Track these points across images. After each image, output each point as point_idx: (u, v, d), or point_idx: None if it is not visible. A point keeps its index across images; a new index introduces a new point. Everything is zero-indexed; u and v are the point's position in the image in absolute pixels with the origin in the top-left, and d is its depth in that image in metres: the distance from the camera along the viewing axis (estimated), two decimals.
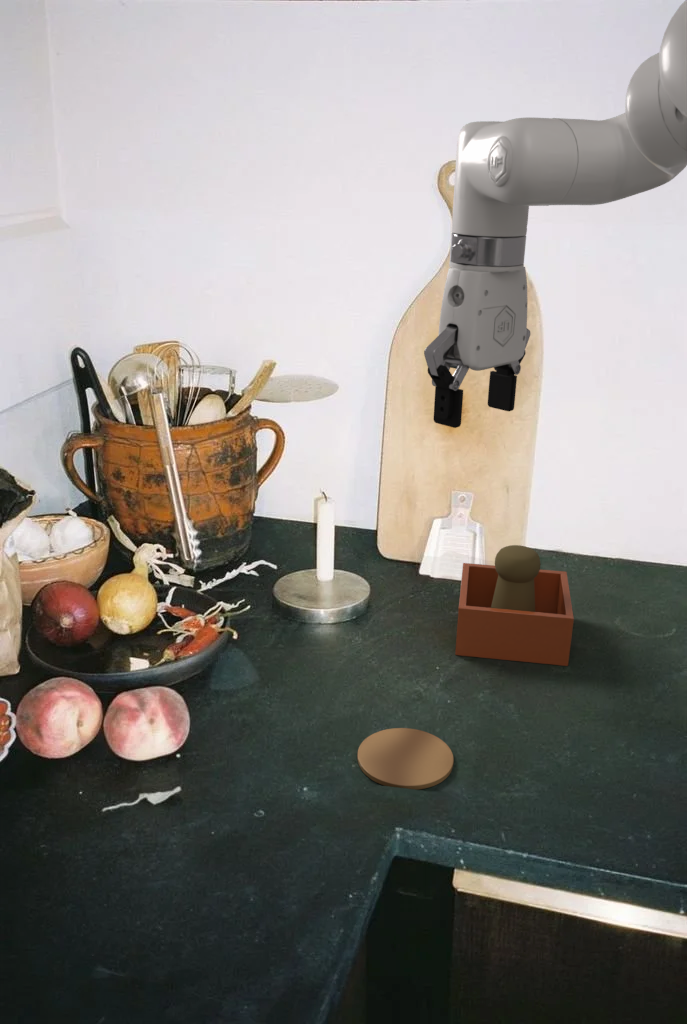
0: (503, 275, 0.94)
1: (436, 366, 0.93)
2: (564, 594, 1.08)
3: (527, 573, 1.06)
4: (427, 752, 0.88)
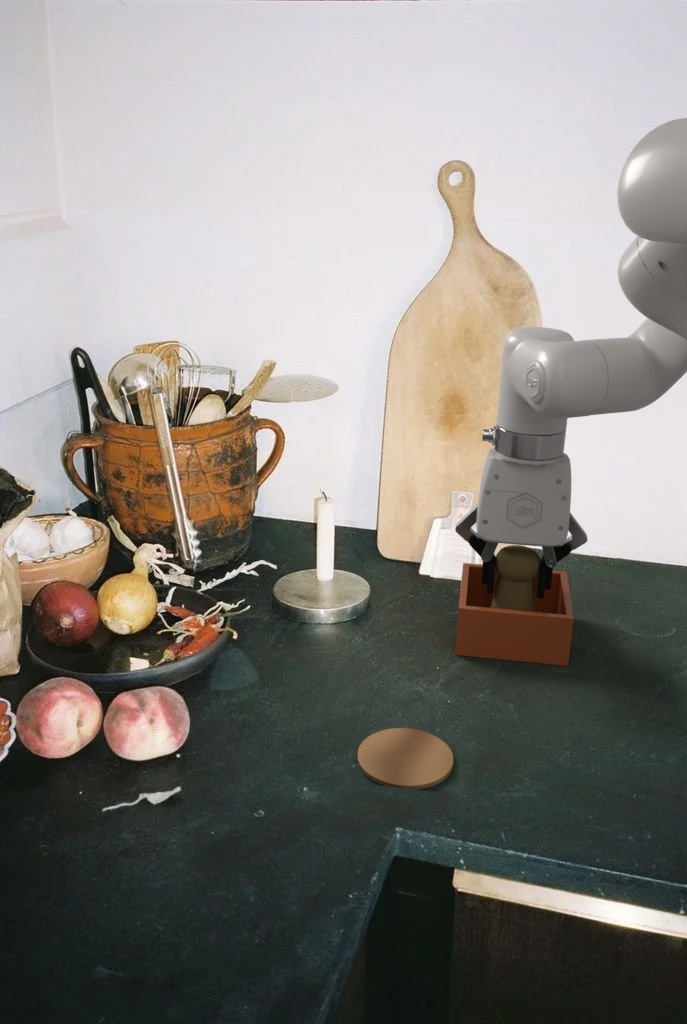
0: (522, 465, 1.01)
1: (464, 539, 1.08)
2: (564, 594, 1.08)
3: (527, 573, 1.06)
4: (427, 752, 0.88)
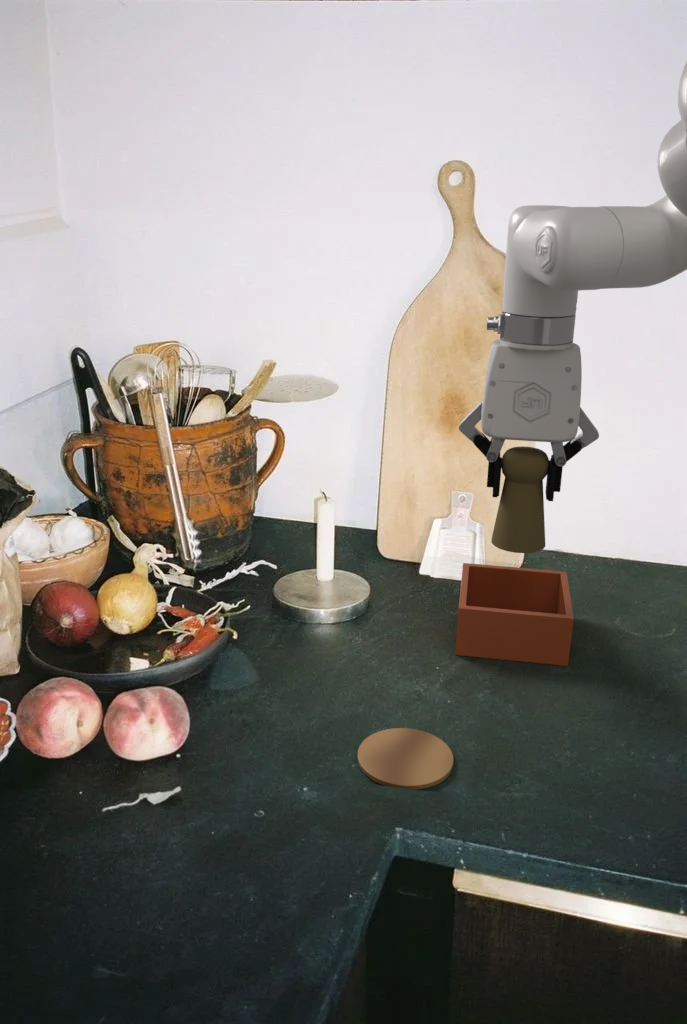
0: (529, 352, 0.95)
1: (469, 438, 1.02)
2: (564, 594, 1.08)
3: (535, 472, 1.00)
4: (427, 752, 0.88)
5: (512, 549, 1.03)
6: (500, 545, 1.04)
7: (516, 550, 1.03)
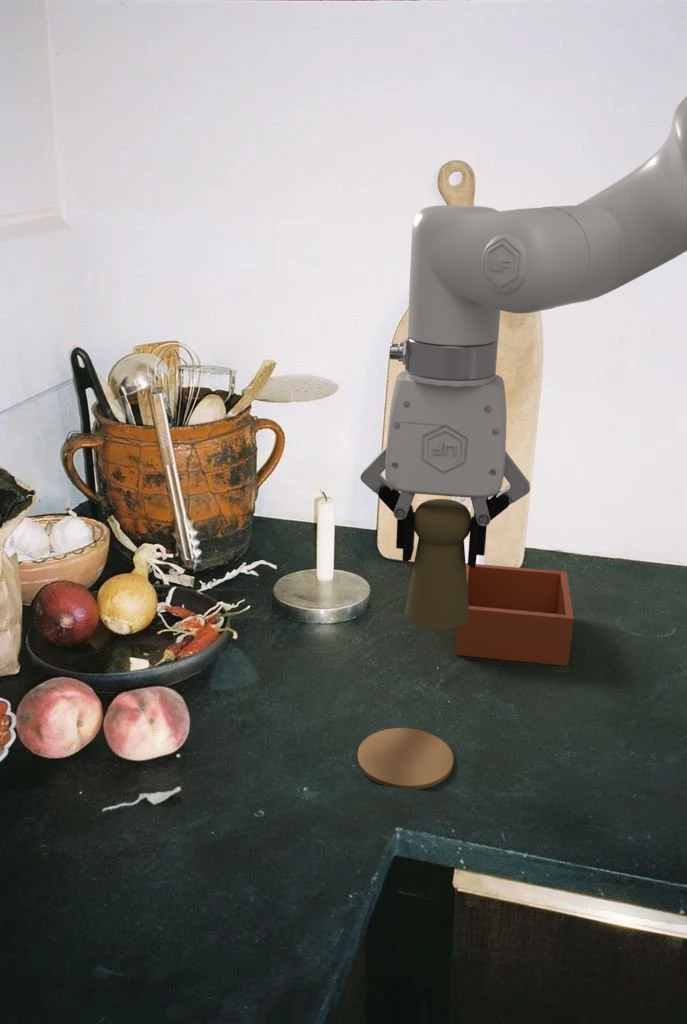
0: (439, 388, 0.77)
1: (373, 490, 0.83)
2: (564, 594, 1.08)
3: (452, 532, 0.81)
4: (427, 752, 0.88)
5: (427, 624, 0.84)
6: (413, 619, 0.85)
7: (431, 626, 0.84)
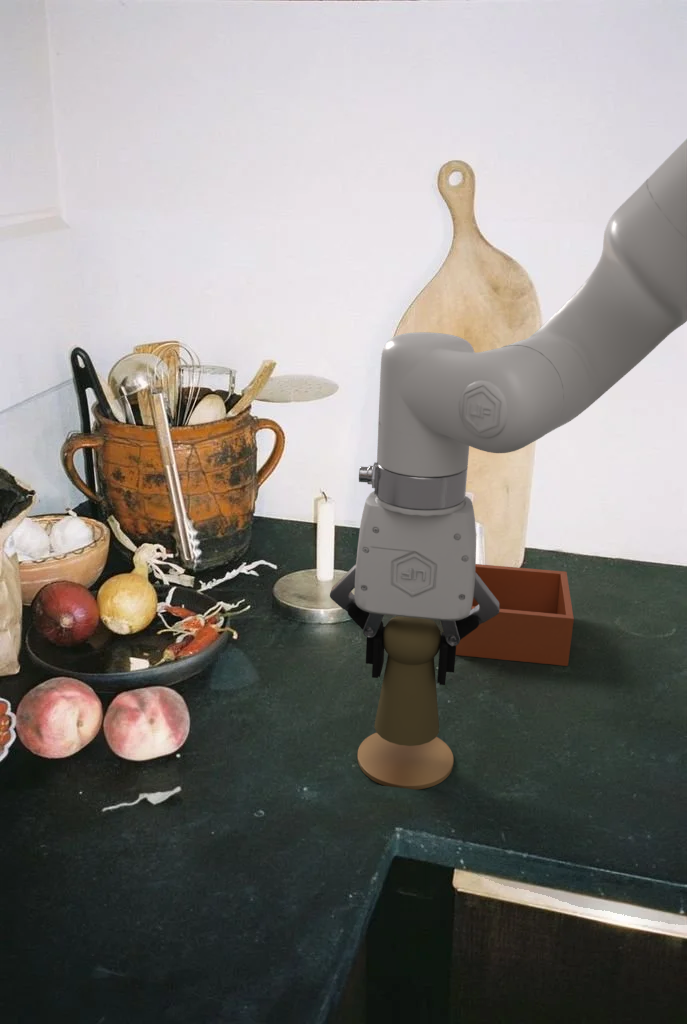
0: (408, 516, 0.76)
1: (342, 607, 0.83)
2: (564, 594, 1.08)
3: (421, 653, 0.81)
4: (427, 752, 0.88)
5: (396, 740, 0.84)
6: (382, 734, 0.85)
7: (401, 742, 0.84)
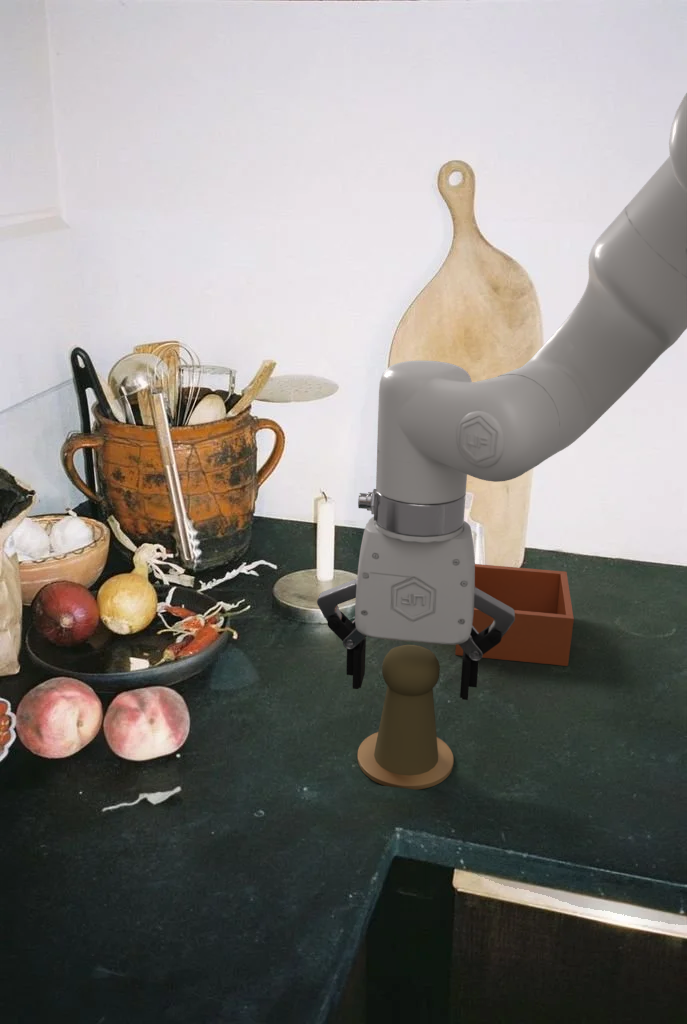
0: (407, 542, 0.77)
1: (324, 615, 0.83)
2: (564, 594, 1.08)
3: (420, 684, 0.82)
4: None
5: (395, 770, 0.85)
6: (382, 763, 0.86)
7: (400, 772, 0.85)
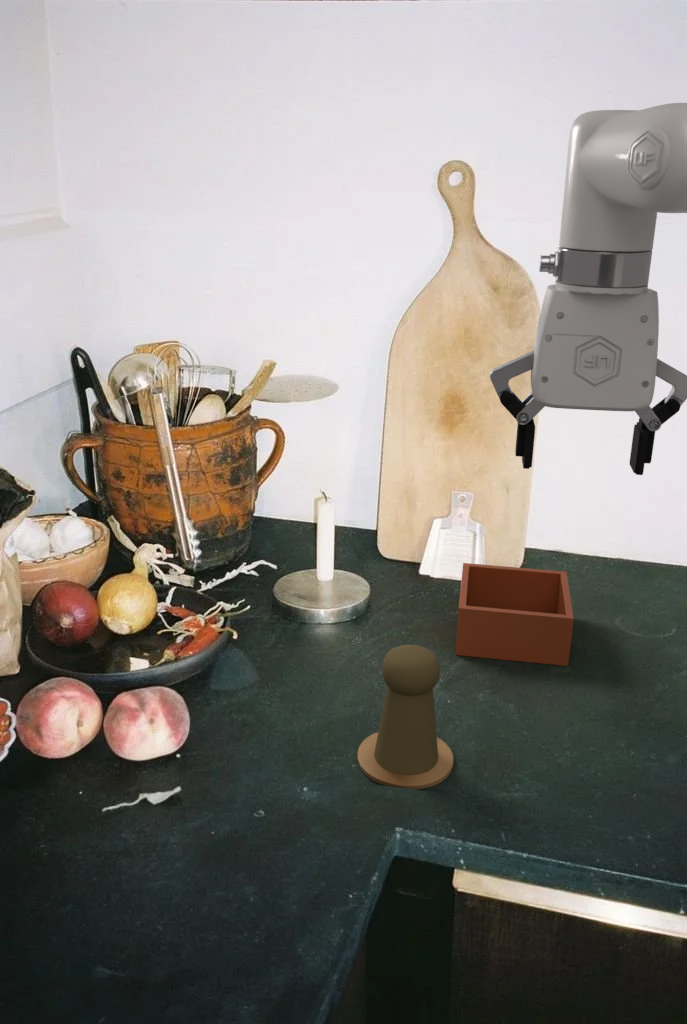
0: (595, 298, 0.76)
1: (496, 391, 0.82)
2: (564, 594, 1.08)
3: (420, 684, 0.82)
4: None
5: (395, 770, 0.85)
6: (382, 763, 0.86)
7: (400, 772, 0.85)
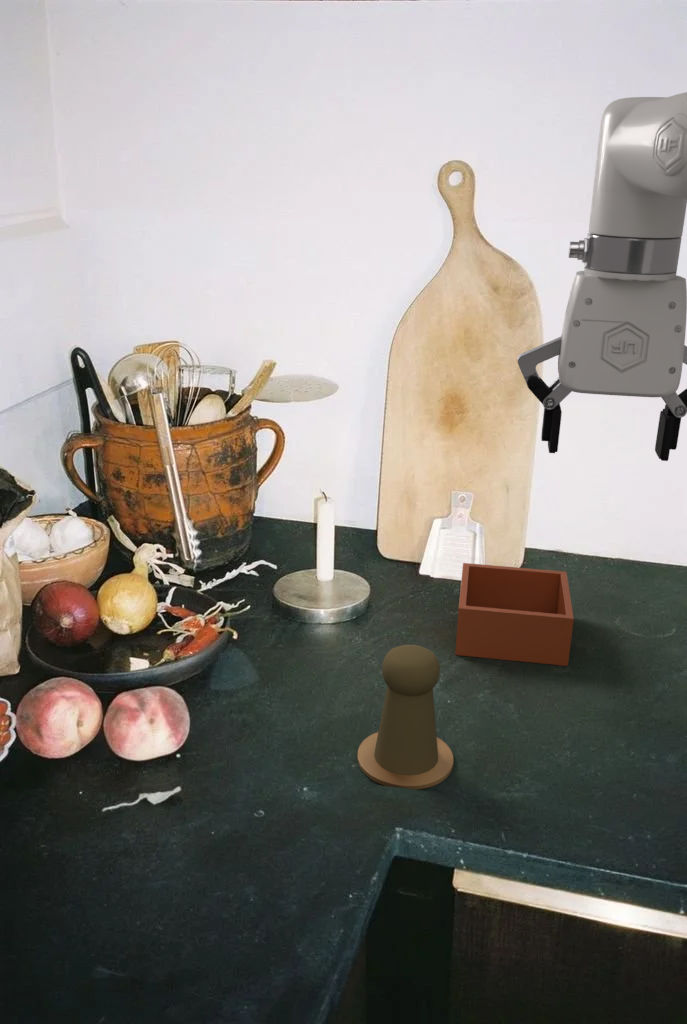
0: (624, 284, 0.77)
1: (523, 376, 0.83)
2: (564, 594, 1.08)
3: (420, 684, 0.82)
4: None
5: (395, 770, 0.85)
6: (382, 763, 0.86)
7: (400, 772, 0.85)
